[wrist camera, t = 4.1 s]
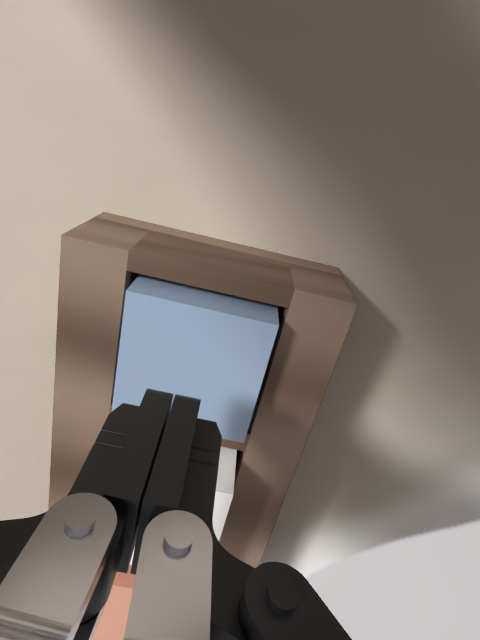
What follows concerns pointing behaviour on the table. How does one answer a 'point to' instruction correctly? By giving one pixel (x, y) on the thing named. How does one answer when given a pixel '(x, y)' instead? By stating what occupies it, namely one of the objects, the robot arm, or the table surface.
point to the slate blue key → (195, 349)
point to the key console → (217, 275)
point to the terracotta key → (116, 608)
